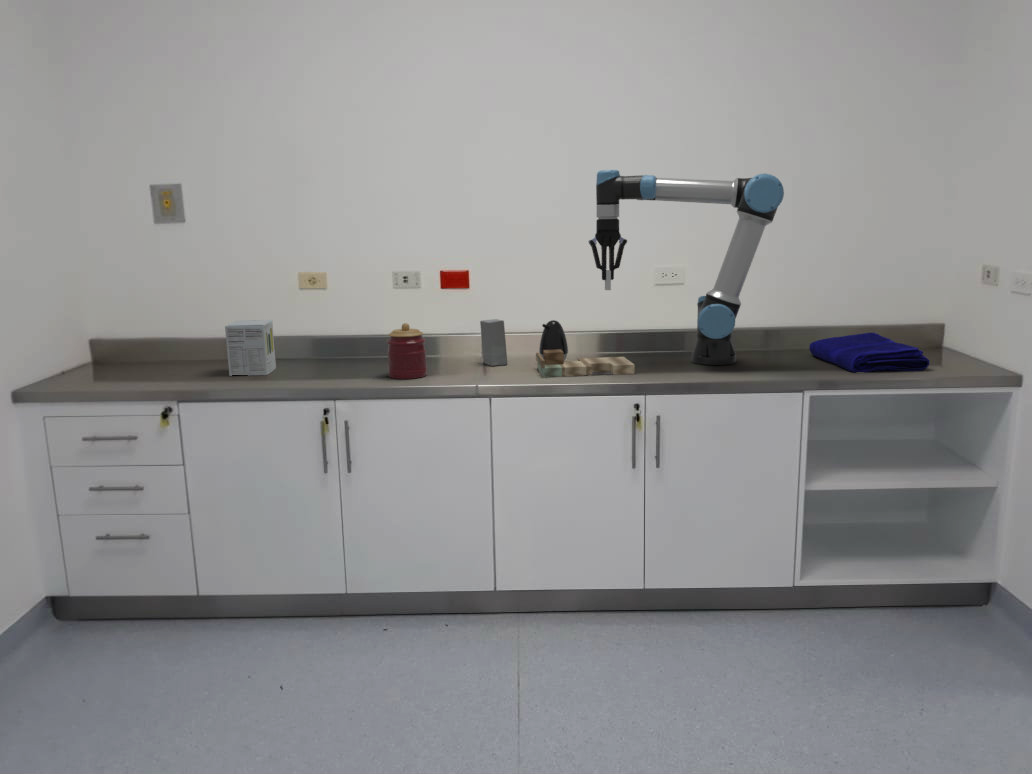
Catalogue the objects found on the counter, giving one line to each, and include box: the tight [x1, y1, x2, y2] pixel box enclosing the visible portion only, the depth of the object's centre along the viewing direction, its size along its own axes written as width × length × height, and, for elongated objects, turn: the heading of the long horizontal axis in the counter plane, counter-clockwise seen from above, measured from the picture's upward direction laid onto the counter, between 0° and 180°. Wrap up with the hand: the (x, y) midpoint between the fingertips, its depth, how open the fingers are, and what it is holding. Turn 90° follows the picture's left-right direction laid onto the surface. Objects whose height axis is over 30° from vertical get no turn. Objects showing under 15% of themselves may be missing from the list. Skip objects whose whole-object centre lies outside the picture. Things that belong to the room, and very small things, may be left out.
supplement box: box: [224, 319, 277, 377], centre depth 285 cm, size 13×13×18 cm
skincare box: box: [479, 318, 508, 367], centre depth 291 cm, size 8×7×16 cm
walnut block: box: [543, 349, 565, 365], centre depth 275 cm, size 6×6×4 cm
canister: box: [386, 322, 428, 380], centre depth 272 cm, size 13×13×18 cm
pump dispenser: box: [538, 319, 569, 361], centre depth 291 cm, size 10×10×15 cm
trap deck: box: [535, 352, 636, 378], centre depth 275 cm, size 30×16×6 cm, turn 96°
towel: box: [808, 332, 930, 373], centre depth 279 cm, size 26×36×9 cm
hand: (607, 289), depth 277 cm, fingers closed
